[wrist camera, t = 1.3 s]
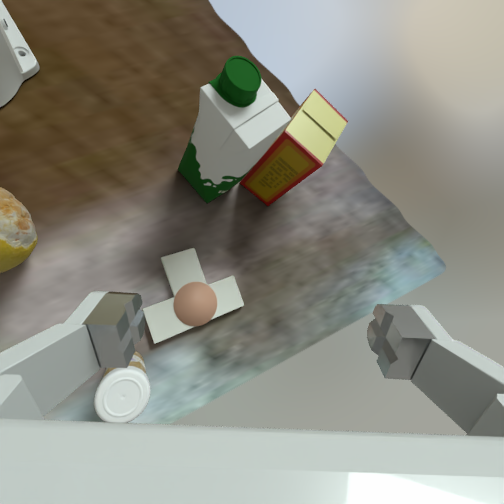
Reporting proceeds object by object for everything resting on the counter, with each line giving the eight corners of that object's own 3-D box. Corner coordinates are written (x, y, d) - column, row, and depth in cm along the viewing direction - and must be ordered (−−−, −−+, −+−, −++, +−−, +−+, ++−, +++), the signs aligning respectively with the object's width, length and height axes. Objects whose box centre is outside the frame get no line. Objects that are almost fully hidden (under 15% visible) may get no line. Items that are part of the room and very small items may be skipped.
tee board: (128, 268, 38) (128, 267, 37) (219, 241, 44) (221, 239, 44) (154, 344, 38) (155, 345, 37) (242, 306, 44) (244, 306, 43)
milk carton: (208, 142, 47) (257, 40, 29) (242, 183, 48) (309, 109, 30) (168, 167, 43) (196, 68, 25) (206, 212, 45) (258, 146, 27)
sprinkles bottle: (141, 344, 37) (146, 362, 25) (147, 379, 37) (155, 413, 25) (103, 355, 35) (89, 379, 23) (108, 391, 35) (97, 436, 23)
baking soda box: (267, 206, 50) (324, 164, 35) (239, 182, 48) (286, 129, 34) (290, 170, 53) (350, 119, 39) (264, 148, 52) (316, 86, 37)
